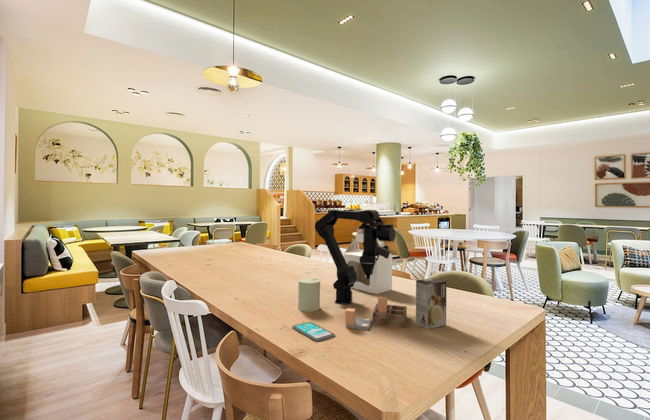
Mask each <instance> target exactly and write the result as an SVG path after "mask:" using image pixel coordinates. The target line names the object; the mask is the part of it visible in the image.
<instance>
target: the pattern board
mask: <svg viewBox="0 0 650 420" xmlns="http://www.w3.org/2000/svg"><path fill="white" fill-rule="evenodd" d="M344 314H345V318H344V319H345V321H344V322H345V324H344V325H345V328H346V329H347V328H348V329H356V330H357V329H358V330H364V331H365V330H366V331H369V330H370V328H371V325H372V323H373V318H363V317H362V318H361V317H356V308H351V307H347V308H346V310H345V313H344Z"/></svg>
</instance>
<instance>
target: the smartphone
mask: <svg viewBox="0 0 650 420" xmlns="http://www.w3.org/2000/svg"><path fill="white" fill-rule="evenodd" d="M292 330H294V331H295V332H297V333H300V334H301V335H303V336H305V337H307V338H308V339H310V340H311V341H313V342H315V343H318V342H322V341H326V340H330V339H332V338H335V337H336V334H335V333H334V332H331V331H330V330H328V329H326V328H324V327H321V326H320V325H318V324H317V323H314V322H311V321H307V322H303V323H297V324H295V325H292Z"/></svg>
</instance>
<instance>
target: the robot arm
mask: <svg viewBox="0 0 650 420" xmlns="http://www.w3.org/2000/svg"><path fill="white" fill-rule="evenodd" d="M380 216H381V215H380V213H379V212H378V210H376V209H365V210H363V209H362V210H358V211H355V210H342V209H330V210H329V211H328V212H327V213H326V214H325V215H323V216H322V217H321V218H320V219H319V220H317V221H316V222H315V224H314V230H315V231H316V233H317V235H318V236H319V237H321V239H323V241H324V242H325V245H326V247H327V249H328V251H329V253H330V256H331V258H332V261H333V263H334V265H335V267H336V277H337V280H335V281H334V282H333V284H332V286H333V289H334V290H335V301H334V303H335V304H343V305H344V304H345V305H349V304H351V302H352V301H353V290H352V288H351V287H353V285H354V283H355V282H356V280H357V276H356V274H357V273H356V272H355V270H354V267H353V266H349V265H348V264H347V263H346V261H345V259H344V254H343V252H342V250H341V247H340V245H339V243H338V241H337V240H336V237H335V227H334V226H335V225H336V224H337V221H338V219H341V220H352V221H358V222H359V223H361V225H359V226H358V229H361V230H362V229H363V233H362V234H363V242H362V246H363V248H362V250H363V252H362V256H361V257H360V264H361V266H362V268H363V271H364V273H365V276H366V278H367V279H370V275H372V273H373V269H374V265H375V264H376V261H377V260H378V259H379V255H380V256H383V257H384V258H387V259H388V257H389V255H390V253H391V249H389V248H390V247H389V246H388V245H386V244H385V246H384V247H382V246H379V245H378V242H377V238H378V240H380V241H383V242H390V243H391V242H394V241H395V239H396V235H397V234H396V233H397V232H396V229H395V227H394V224H385V222H384V221H383V220H382V219H381V217H380ZM375 256H376V257H378V258H376V257H375Z"/></svg>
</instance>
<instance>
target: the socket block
mask: <svg viewBox="0 0 650 420" xmlns="http://www.w3.org/2000/svg"><path fill="white" fill-rule="evenodd" d="M407 309H408V308H407V306H406V305H396V304H395V305H394V304H393V305H392V304H387V314H386V313H378V303H375V305H374V310H373V312H372V325H379V326H387V327H389V326H390V327H399V328H407V320H408V319H407V317H408V315H407V313H408V312H407Z"/></svg>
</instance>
